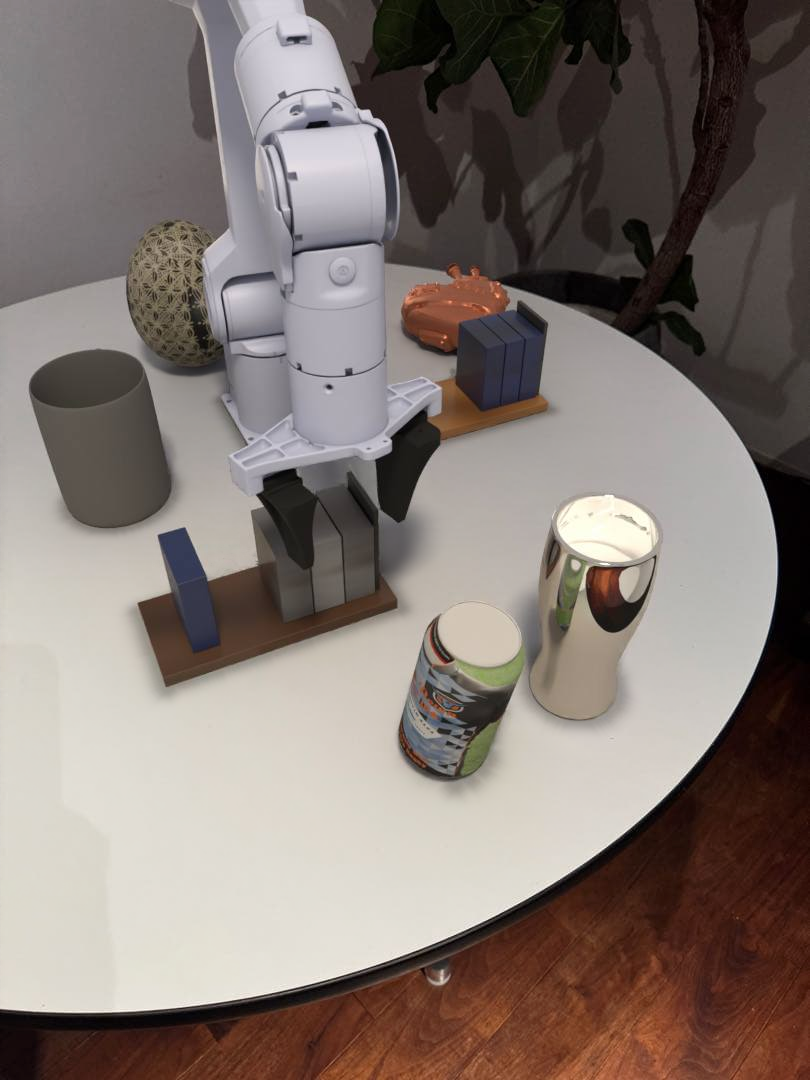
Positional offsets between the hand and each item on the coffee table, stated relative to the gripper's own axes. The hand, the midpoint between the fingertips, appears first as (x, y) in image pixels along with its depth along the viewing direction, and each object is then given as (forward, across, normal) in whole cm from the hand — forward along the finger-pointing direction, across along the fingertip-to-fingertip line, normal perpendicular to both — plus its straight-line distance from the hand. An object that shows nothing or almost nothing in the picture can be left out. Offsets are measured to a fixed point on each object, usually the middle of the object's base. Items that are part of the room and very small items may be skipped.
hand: (348, 537), depth 58 cm
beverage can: (+10, 0, -12) cm, 16 cm away
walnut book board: (+10, -3, +6) cm, 12 cm away
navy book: (+8, -9, +8) cm, 14 cm away
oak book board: (+8, +25, +18) cm, 32 cm away
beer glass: (+10, +10, -13) cm, 19 cm away
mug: (+9, -5, +28) cm, 30 cm away
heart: (+8, +36, +30) cm, 47 cm away
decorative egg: (+8, +10, +42) cm, 44 cm away
